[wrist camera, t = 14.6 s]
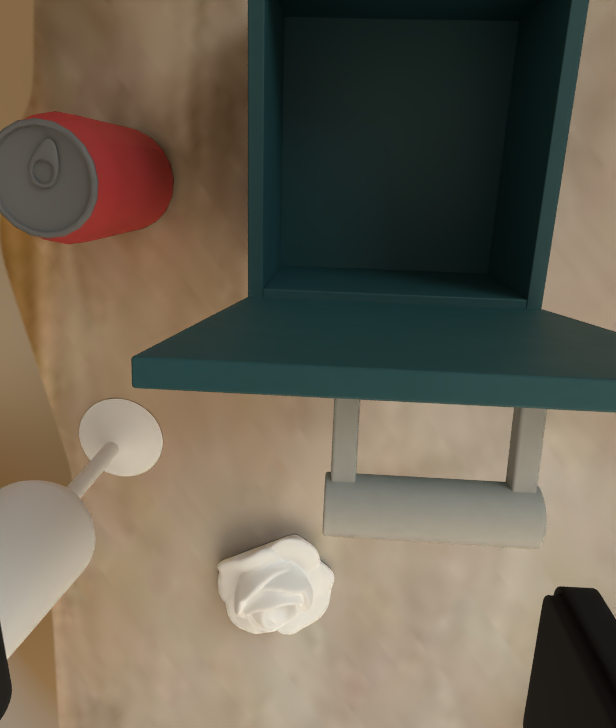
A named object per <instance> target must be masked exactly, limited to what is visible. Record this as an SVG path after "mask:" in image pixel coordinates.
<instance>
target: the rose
mask: <svg viewBox="0 0 616 728" xmlns="http://www.w3.org/2000/svg"><path fill="white" fill-rule="evenodd" d="M217 567H218V570H219V572H220V573H219V576H218V589H219V594H220V597H221V599H222V600H223V601H224V602H225V603H226V609H227V613H228V616H229V618H230V620H231V621H232V622H233V623H234V624H235V625H236V626H237V627H238V628H240V629H242V630H245V631H247V632H249V633H252V634H260V633H264V632H274V631H276V630H277V631H278V632H279V633H281V634H284V635H291V634H294V633H296V632H298V631H300V630H301V629H303V628H304V627H306V626H308V625H310V624H312V623H313V622H315V621H316V620H318V619H319V618H320V617H321V616H322V615H323V614H324V612H325V611H326V609H327V607H328V605H329V601H330V594H331V588H332V586H333V583H334V574H333V572H332V571H331V569H329V567H328V566H327V565H326V564H324V563H323V562H322V561H321V560H320V557H319V554H318V551H317V550H316V548H315V547H314V546H313V545H311V544H310V543H309V542H307V541H306V540H304V539H303V538H302V537H300V536H298V535H290V536H286V537H283V538H281V539H278V540H276V541H273V542H270V543H268V544H265V545H262V546H259V547H257V548H254V549H251V550H248V551H246V552H243V553H240V554H238V555H236V556H233V557H230V558H227V559H225V560H222V561H221V562H220V563H219V564H218V566H217Z"/></svg>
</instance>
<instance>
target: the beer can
mask: <svg viewBox="0 0 616 728" xmlns="http://www.w3.org/2000/svg"><path fill="white" fill-rule="evenodd" d="M173 183H174V180H173V175H172V170H171V165H170V163H169V161H168V159H167V157H166V155H165V153H164V151H163V150H162V149H161V148H160V147H159V145H158V144H157V143H156V142H155V141H154V140H153V139H152V138H150V137H149V136H147V135H145V134H143V133H142V132H140V131H138V130H135V129H131V128H127V127H123V126H118V125H114V124H110V123H106V122H102V121H98V120H93V119H89V118H85V117H81V116H77V115H72V114H67V113H61V112H56V111H54V112H48V113H41V114H36V115H32V116H29V117H27V118H26V119H24V120H18V121H16V122H14V123H12V124H10V125H9V126H7V127H5V128H4V129H2V130H1V132H0V213H1V214H2V215H3V216H4V217H5V218H6V219H7V220H8V221H9V222H10V223H11V224H12V225H13V226H14V227H16V228H18V229H20V230H22V231H24V232H26V233H27V234H29V235H32V236H37V237H40V238H42V239H45V240H49V241H54V242H59V243H64V244H74V243H82V242H88V241H92V240H96V239H101V238H105V237H109V236H113V235H117V234H121V233H126V232H130V231H134V230H138V229H142V228H145V227H147V226H149V225H150V224H152V223H154V222H156V221H157V220H158V219H159V218H160V217H161V216H162V215H163V213H164V212H165V211H166V209H167V207H168V205H169V203H170V200H171V198H172V192H173Z"/></svg>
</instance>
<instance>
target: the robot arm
mask: <svg viewBox="0 0 616 728" xmlns="http://www.w3.org/2000/svg"><path fill="white" fill-rule="evenodd" d="M11 693H12V685H11V679H10V674H9V668H8V663H7V657H6V651H5V646H4V640H3V634H2V629H1V623H0V720H1V718H2V717H3V715H4V713H5V712H6V710H7V708H8V705H9V702H10V699H11ZM523 728H616V619H615V617H614V616H613V614H612V612H611V611H610V609H609V608H608V606H607V604H606V603H605V601H604V599H603V598H602V596H601V595H600V593H599V592H598V591H597V590H596V589H594V588H578V587H557V588H556V590H555V592H554V596H551V595H547V596H545V597H544V600H543V604H542V610H541V616H540V622H539V628H538V634H537V640H536V647H535V653H534V659H533V665H532V671H531V677H530V683H529V689H528V695H527V701H526V707H525V713H524V720H523Z"/></svg>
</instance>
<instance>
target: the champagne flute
mask: <svg viewBox="0 0 616 728" xmlns="http://www.w3.org/2000/svg"><path fill="white" fill-rule="evenodd" d="M79 438H80V443H81V446H82V449H83V450H84V452H85V454H86V456H87V457H88V458H89V459H90V462H89V463H88V464H87V465H86V466H85V467H84V468H83V469H82V470H81V471H80V473H79V474H78V475H77V476H76V477H75V478H74V479H73V480H72V481H71V482H70V483H69V485H68V486H67V487H65V486H62V485H60V484H57V483H53V482H48V481H43V480H27V481H20V482H15V483H12V484H9V485H7V486H5V487H2V488H0V623H1V629H2V634H3V640H4V646H5V651H6V657H7V659H8V658H9V657H10V656H11V655H12V654H13V652H14V651H15V650H16V649H17V648H18V647H19V645H20V644H21V643H22V642H23V641H24V640H25V638H26V637H27V636H28V635H29V634H30V633H31V631H32V630H33V629H34V628H35V627H36V626H37V624H38V623H39V622H40V621H41V620H42V619H43V617H44V616H45V615H46V614H47V613H48V612H49V611H50V609H51V608H52V607H53V606H54V605H55V604H56V602H57V601H58V600H59V599H60V598H61V597H62V595H63V594H64V593H65V592H66V591H67V590H68V588H69V587H70V586H71V585H72V584H73V583H74V581H75V580H76V579H77V578H78V577H79V576H80V574H81V573H82V572H83V571H84V570H85V569H86V567H87V566H88V564H89V562H90V561H91V558H92V555H93V552H94V549H95V541H96V536H95V529H94V522H93V519H92V516H91V514H90V512H89V510H88V508H87V506H86V505H85V503H84V502H83V501H82V499H81V497H82V496H83V495H84V494H85V493H86V491H87V490H88V489H89V488H90V487H91V485H92V484H93V483H94V482H95V481H96V479H97V478H98V477H99V476H100V475H101V473H102V472H103V471H105V472H107V473H110V474H113V475H117V476H135V475H139V474H142V473H144V472H146V471H147V470H149V469H150V468H151V467H152V466H153V465H154V464H155V463H156V462H157V460H158V459H159V457H160V454H161V452H162V446H163V439H162V433H161V430H160V427H159V425H158V423H157V421H156V420H155V418H154V417H153V416H152V415H151V414H150V413H149V412H148V411H147V410H146V409H145V408H143V407H142V406H140V405H138V404H137V403H134V402H132V401H129V400H124V399H107V400H103V401H100V402H98V403H96V404H95V405H93V406H92V407H90V408H89V409H88V410H87V412H86V413H85V414H84V416H83V418H82V420H81V423H80V426H79Z"/></svg>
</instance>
